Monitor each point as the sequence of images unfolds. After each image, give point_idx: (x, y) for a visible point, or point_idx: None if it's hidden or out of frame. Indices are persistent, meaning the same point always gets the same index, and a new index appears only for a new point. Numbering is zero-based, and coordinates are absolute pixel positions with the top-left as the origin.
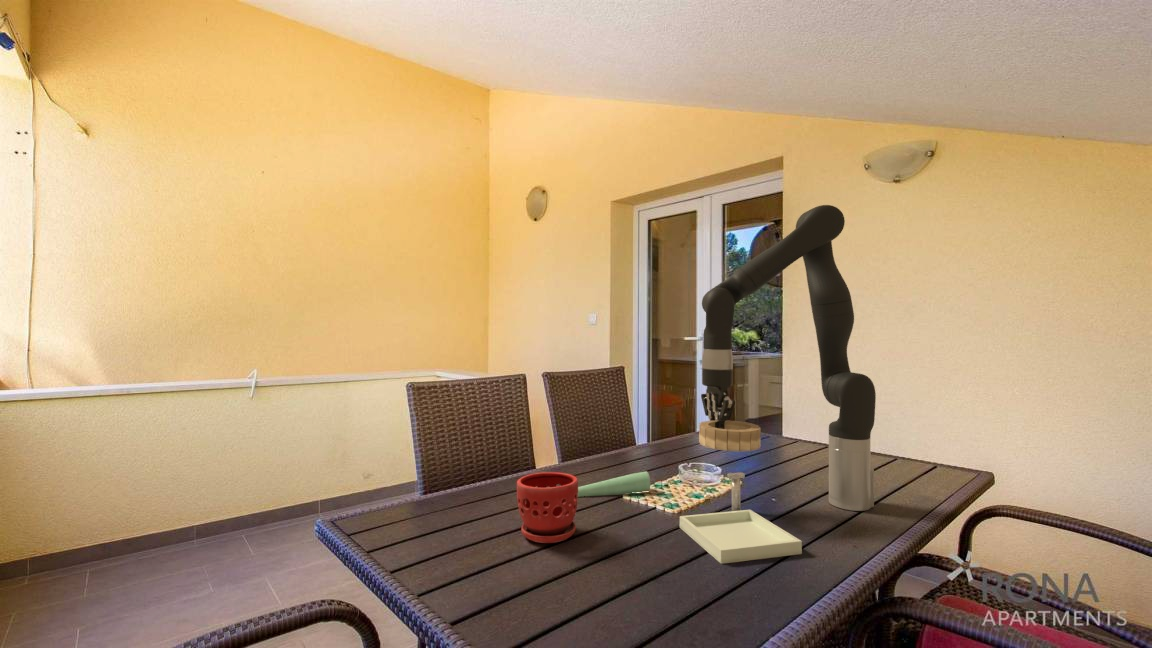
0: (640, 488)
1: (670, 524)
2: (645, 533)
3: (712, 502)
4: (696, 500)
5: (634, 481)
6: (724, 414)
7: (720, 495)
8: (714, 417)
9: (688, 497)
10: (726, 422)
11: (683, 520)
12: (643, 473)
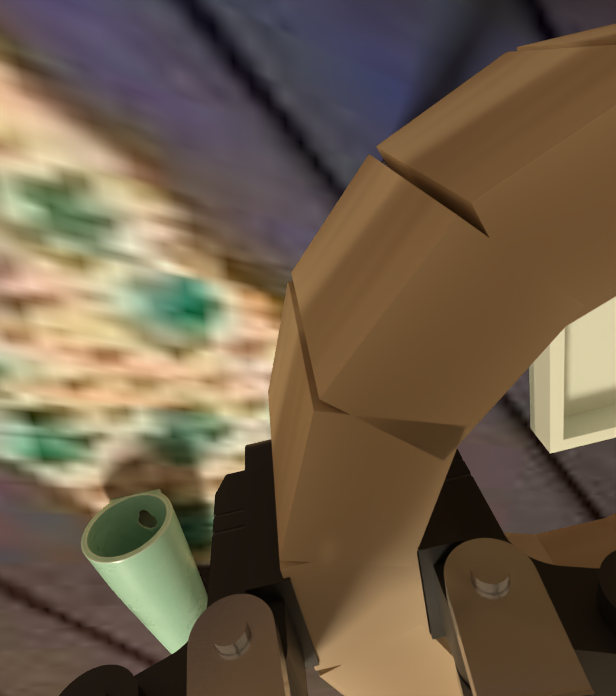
0: (183, 534)
1: (497, 449)
2: (547, 515)
3: (276, 256)
4: (250, 322)
5: (183, 576)
6: (573, 680)
7: (160, 183)
8: (301, 676)
9: (209, 349)
10: (430, 495)
11: (578, 443)
12: (138, 570)
